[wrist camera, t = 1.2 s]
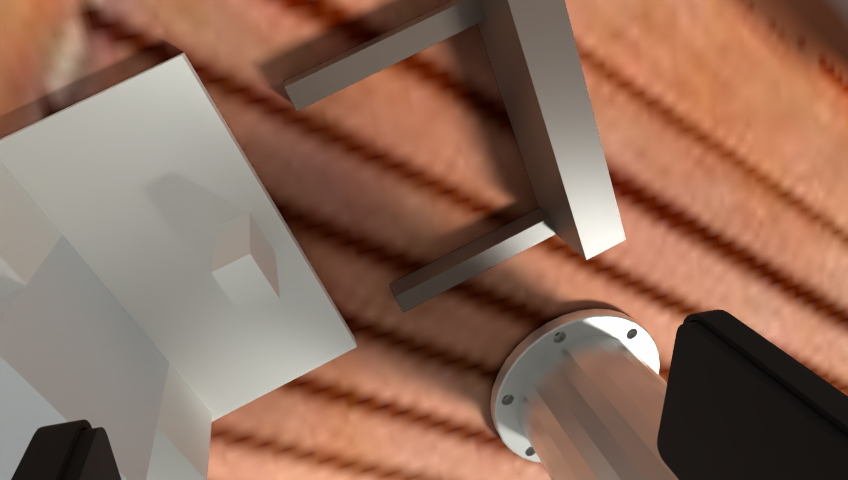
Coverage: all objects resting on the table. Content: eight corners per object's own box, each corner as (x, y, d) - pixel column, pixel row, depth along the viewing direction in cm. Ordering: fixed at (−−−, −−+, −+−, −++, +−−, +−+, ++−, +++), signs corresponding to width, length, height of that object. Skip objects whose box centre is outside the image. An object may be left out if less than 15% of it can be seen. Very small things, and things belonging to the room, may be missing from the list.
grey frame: (396, 299, 35) (418, 347, 30) (282, 82, 28) (289, 102, 24) (579, 205, 35) (626, 239, 31) (511, -28, 29) (558, -28, 24)
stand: (116, 459, 34) (70, 629, 25) (-142, 205, 25) (-349, 330, 17) (354, 337, 35) (390, 460, 26) (183, 52, 26) (151, 92, 17)
